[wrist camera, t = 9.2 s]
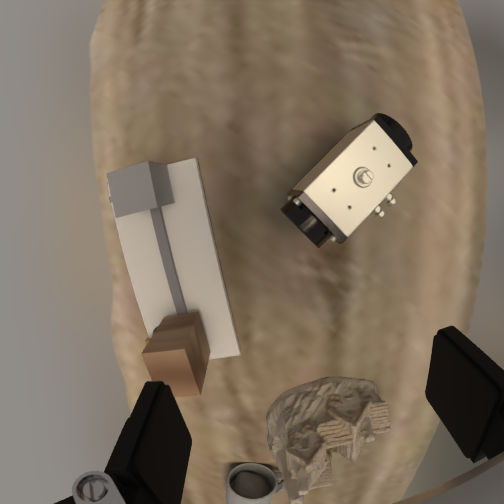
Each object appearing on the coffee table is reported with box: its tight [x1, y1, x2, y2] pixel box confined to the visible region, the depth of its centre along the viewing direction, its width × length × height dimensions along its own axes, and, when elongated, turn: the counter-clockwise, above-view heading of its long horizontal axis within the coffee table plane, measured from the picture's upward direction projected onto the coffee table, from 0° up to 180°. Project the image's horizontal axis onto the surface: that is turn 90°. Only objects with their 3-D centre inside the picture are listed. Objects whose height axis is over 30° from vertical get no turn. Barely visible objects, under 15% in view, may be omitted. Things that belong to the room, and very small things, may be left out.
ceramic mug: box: [226, 463, 284, 504], centre depth 37 cm, size 11×8×8 cm
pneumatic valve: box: [280, 113, 418, 248], centre depth 25 cm, size 6×12×12 cm, turn 136°
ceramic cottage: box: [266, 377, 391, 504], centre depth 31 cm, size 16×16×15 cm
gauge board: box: [107, 158, 241, 359], centre depth 30 cm, size 22×10×7 cm, turn 11°
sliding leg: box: [141, 311, 211, 397], centre depth 29 cm, size 5×7×8 cm
